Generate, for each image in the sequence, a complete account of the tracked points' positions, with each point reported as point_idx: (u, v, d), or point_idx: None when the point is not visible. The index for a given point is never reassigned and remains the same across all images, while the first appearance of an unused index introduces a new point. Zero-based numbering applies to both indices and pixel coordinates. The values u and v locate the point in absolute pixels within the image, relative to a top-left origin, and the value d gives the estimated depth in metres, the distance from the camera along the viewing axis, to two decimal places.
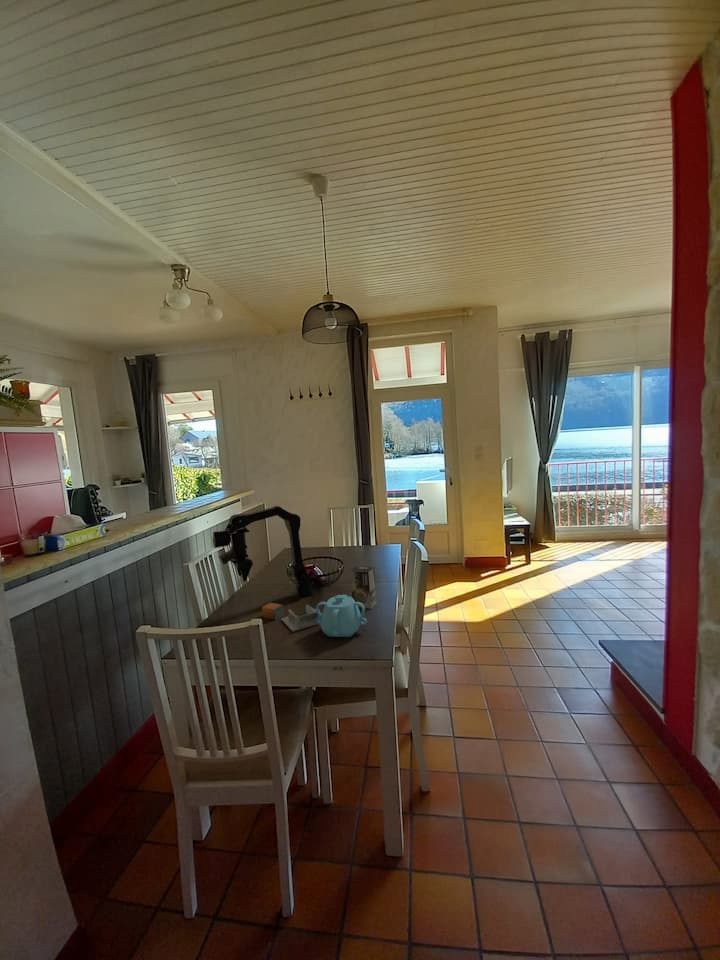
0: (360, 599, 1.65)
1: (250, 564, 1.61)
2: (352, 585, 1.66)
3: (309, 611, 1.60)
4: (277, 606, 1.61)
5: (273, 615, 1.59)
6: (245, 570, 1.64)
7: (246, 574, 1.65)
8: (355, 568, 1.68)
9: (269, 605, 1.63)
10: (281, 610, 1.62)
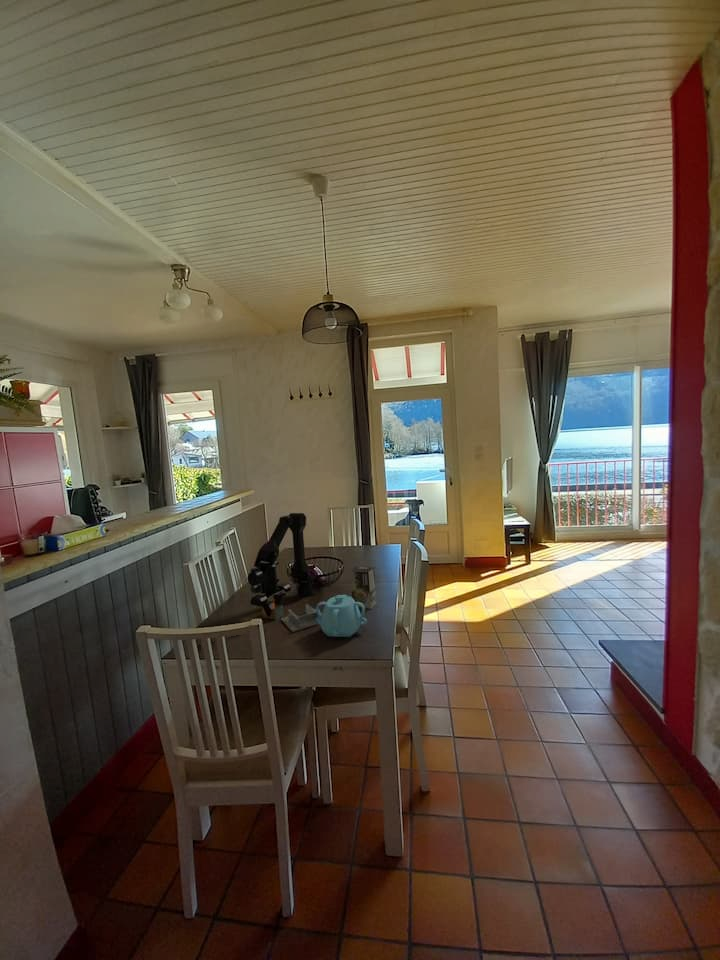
0: (360, 599, 1.65)
1: (258, 604, 1.53)
2: (352, 585, 1.66)
3: (309, 611, 1.60)
4: (277, 606, 1.61)
5: (273, 615, 1.59)
6: (266, 606, 1.59)
7: (267, 610, 1.59)
8: (355, 568, 1.68)
9: None
10: (281, 610, 1.62)
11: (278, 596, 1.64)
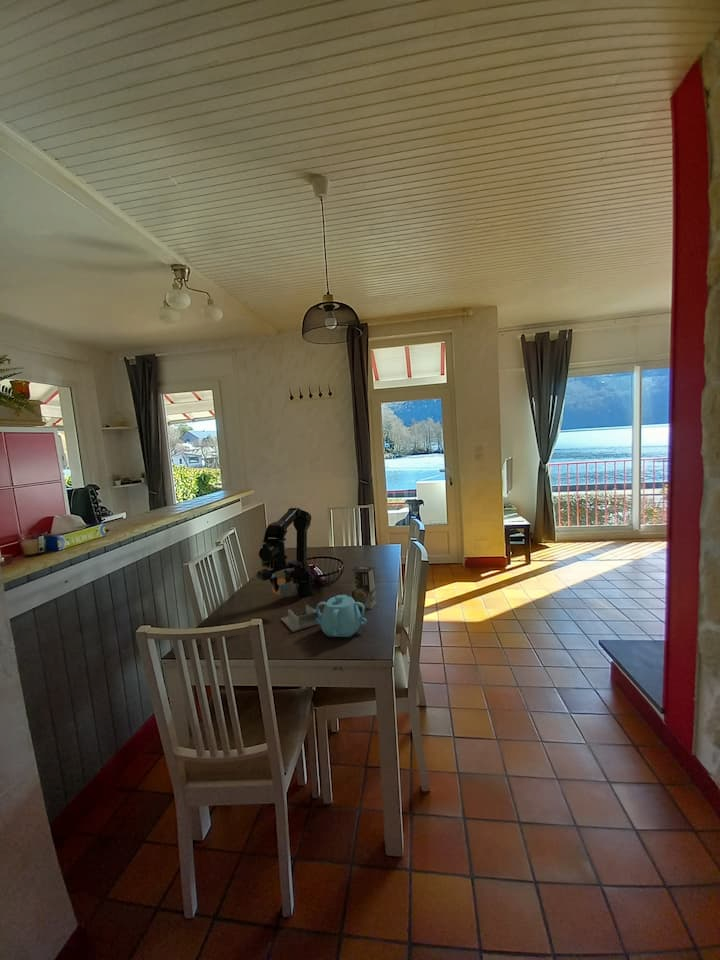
0: (360, 599, 1.65)
1: (262, 578, 1.55)
2: (352, 585, 1.66)
3: (309, 611, 1.60)
4: (284, 582, 1.62)
5: (279, 591, 1.60)
6: (273, 581, 1.60)
7: (274, 585, 1.60)
8: (355, 568, 1.68)
9: (278, 581, 1.64)
10: (288, 587, 1.62)
11: (288, 573, 1.64)
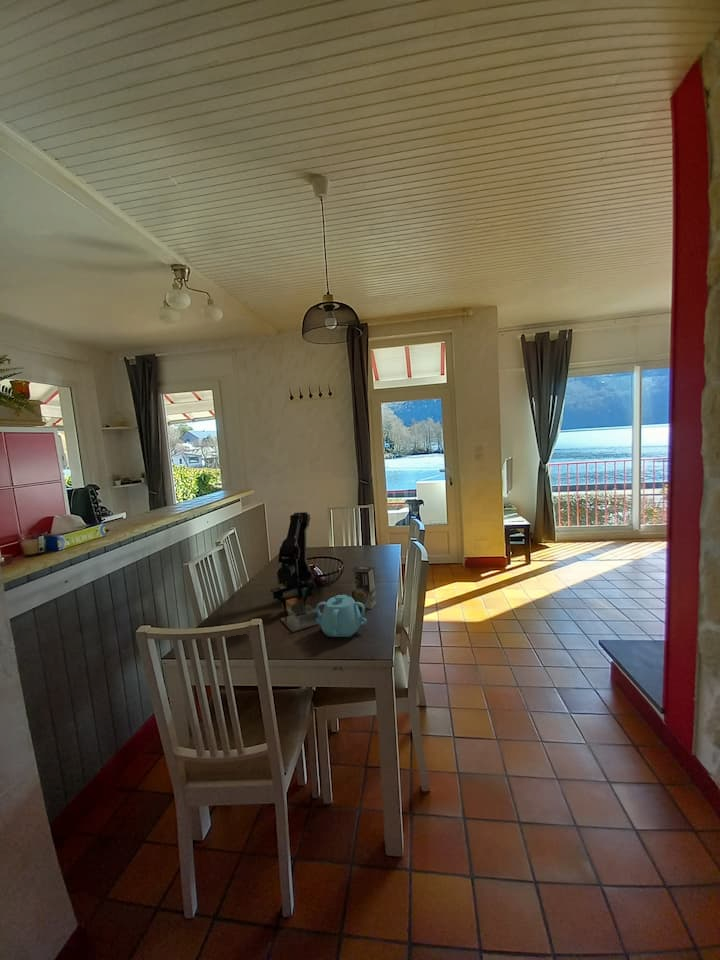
0: (360, 599, 1.65)
1: (273, 596, 1.59)
2: (352, 585, 1.66)
3: (309, 611, 1.60)
4: (297, 603, 1.64)
5: None
6: None
7: (282, 605, 1.62)
8: (355, 568, 1.68)
9: (292, 600, 1.67)
10: (300, 607, 1.63)
11: (304, 591, 1.67)
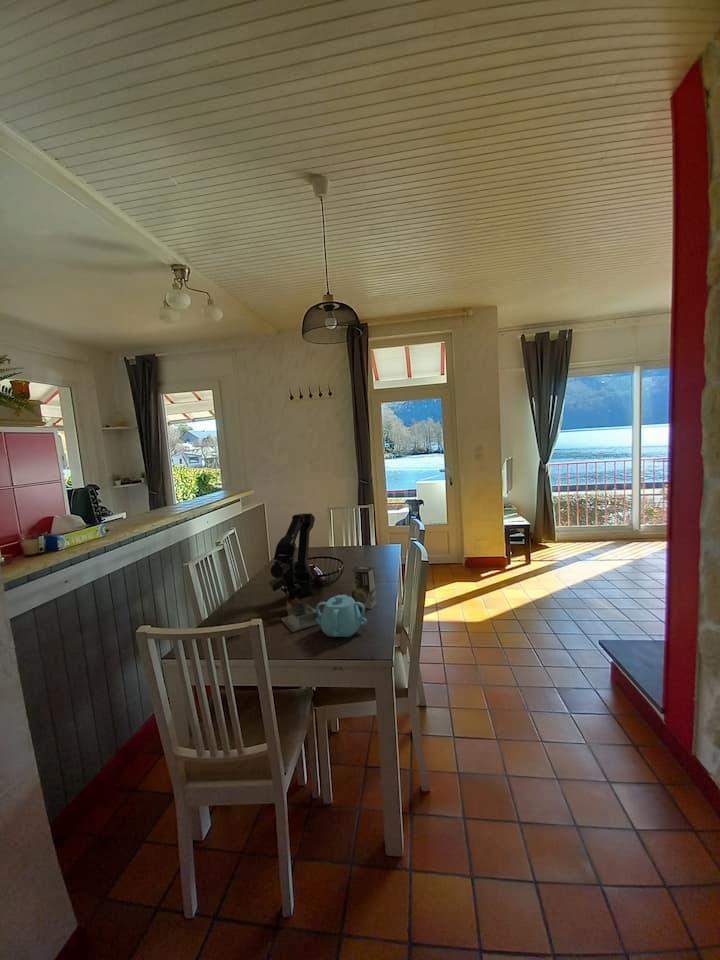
0: (360, 599, 1.65)
1: (301, 592, 1.62)
2: (352, 585, 1.66)
3: (309, 611, 1.60)
4: (297, 603, 1.63)
5: None
6: None
7: (292, 598, 1.69)
8: (355, 568, 1.68)
9: (293, 600, 1.66)
10: (301, 608, 1.63)
11: None
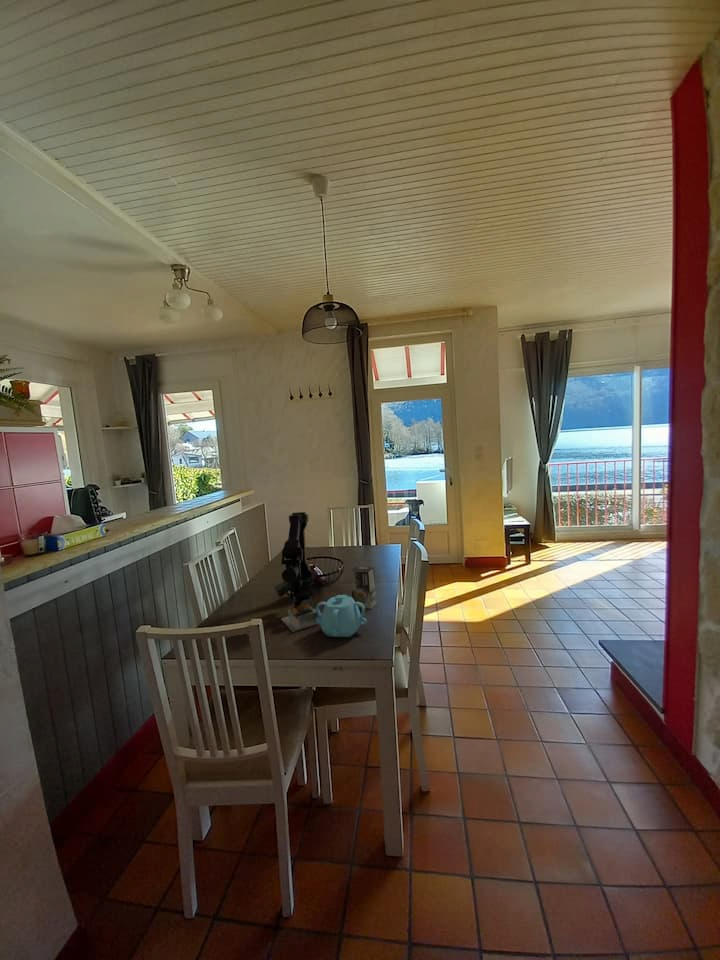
0: (360, 599, 1.65)
1: (308, 597, 1.55)
2: (352, 585, 1.66)
3: None
4: (305, 609, 1.57)
5: None
6: None
7: (299, 603, 1.62)
8: (355, 568, 1.68)
9: (300, 606, 1.60)
10: None
11: None
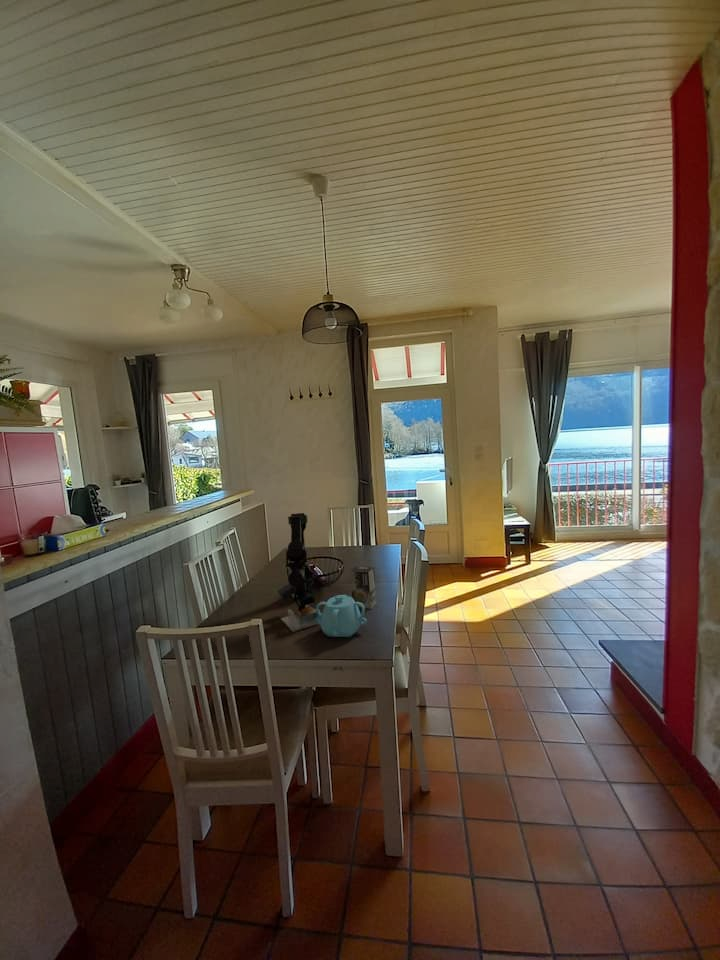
0: (360, 599, 1.65)
1: (313, 601, 1.51)
2: (352, 585, 1.66)
3: None
4: (310, 612, 1.53)
5: None
6: None
7: (303, 607, 1.58)
8: (355, 568, 1.68)
9: (304, 609, 1.56)
10: None
11: None
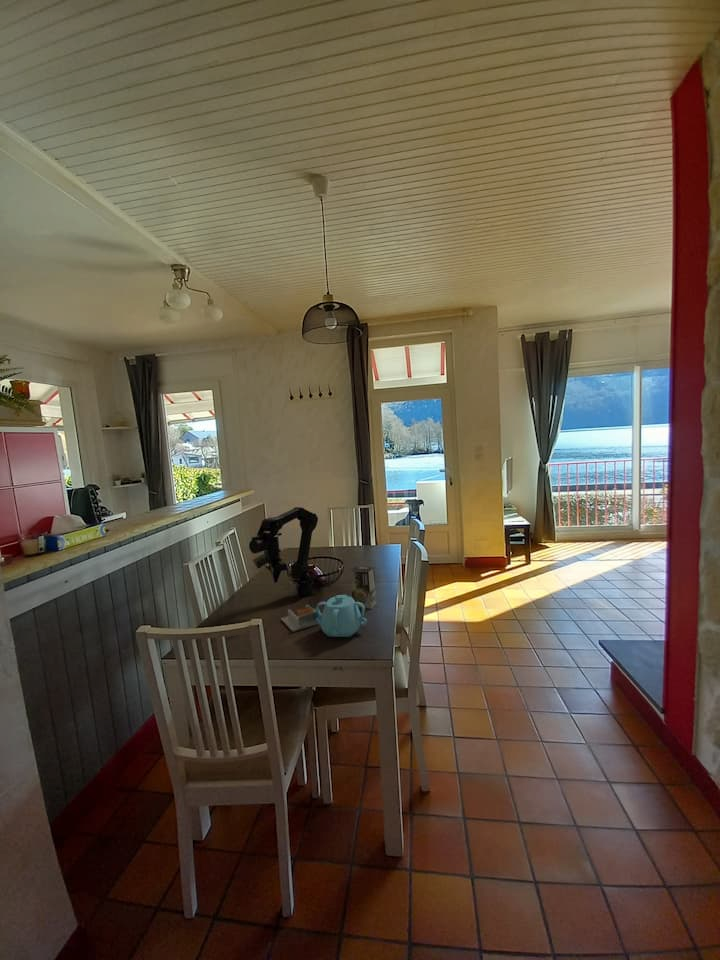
0: (360, 599, 1.65)
1: (285, 568, 1.61)
2: (352, 585, 1.66)
3: None
4: (310, 612, 1.53)
5: None
6: (276, 572, 1.68)
7: (277, 575, 1.68)
8: (355, 568, 1.68)
9: (304, 610, 1.56)
10: None
11: None
